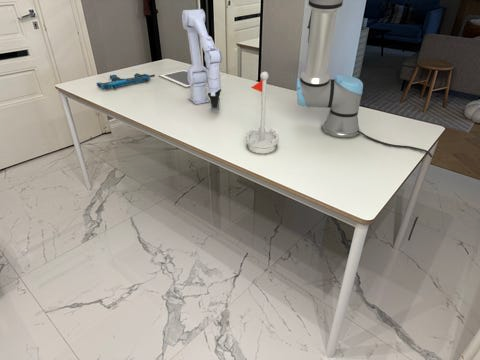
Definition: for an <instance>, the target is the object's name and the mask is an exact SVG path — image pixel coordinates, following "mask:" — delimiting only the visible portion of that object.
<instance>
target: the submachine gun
mask: <svg viewBox="0 0 480 360" xmlns="http://www.w3.org/2000/svg"><path fill="white" fill-rule="evenodd" d="M154 77H156V74H147V73H142V74H141V73H139V72H137V73H135V74H133V77H128V78H121V77H119V76H118V75H117V74H110V75H109V79H111V81H107V82H96V83H95V84H96V87H98V88H99V89H101V90H102V91H103V90H109V89H113V90H116V88H118V87H119V88H120V87H122V86H127V85H133V84H138V83H142V82H148V81H149V80H150V79H151V78H154Z"/></svg>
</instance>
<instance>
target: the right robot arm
mask: <svg viewBox="0 0 480 360" xmlns="http://www.w3.org/2000/svg"><path fill="white" fill-rule="evenodd" d="M343 3H344V0H308V7H309V8H310V9H311V11H310V16H309V20H308V25H307V29H308V35H307V52H306V59H305V60H306V61H305V70H304V71H303V72H301V74H300V77H298V78H297V79H296V99H297V101H296V102H297V104H298V106H300V107H306V108H325V109H329V112H328V115H327V117H326V120H325V121H324V123H323V126H322V130H323V132H324V133H325V134H326V135H329V136H332V137H335V138H339V139H341V138H342V139H349V138H354V137H356V136H357V135H359V134H360V135H362V136H363V137H365V138H367V139H369V140H371V141H373V142H375V143H379V144H382V145H385V146H389V147H395V148H406V149H411V150H412V149H413V150H416V151H421V152H423V153H426V154H427V155H428V156H429V157H430V158H434V156H433V154H432V153H431V152H430V151H428V150H427V149H424V148H419V147H415V146H411V145H402V144H401V145H400V144H392V143H388V142H384V141H381V140H378V139H375V138H373V137H370V136H368V135H367V134H365V133H364V132H363V131H360V125H359V118H358V117H359V116H358V114H359V111H360V110H359V109H360V105H361V100H362V95H363V89H364V83H363V82H362V80H361V79H359V78H358V77H355V76H351V75H348V74H347V75H346V74H337V75H334V76H335V77H334V79H332V78H331V75H330V74H329V73H328V68H329V62H330V56H331V49H332V44H333V36H334V31H335V24H336V18H337V12H338V10H340V9H341V8H342V7H343ZM418 219H419V216H416V217H415V219H414V222H413V224H412V227H411V229H410V232H409V234H408V235H409V236H408V238H407V241H410V240H411V237H412V235H413V232H414V229H415V226H416V225H417V221H418Z"/></svg>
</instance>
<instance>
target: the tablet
mask: <svg viewBox="0 0 480 360" xmlns="http://www.w3.org/2000/svg"><path fill="white" fill-rule="evenodd" d="M187 71H188V69H182V70H181V69H180V70H176V71H172V72H167V73H163V74H158V76H159V77H161V78H163V79H165V80H167V81H170V82H173V83H175V84H177V85H179V86H182V87H184V88H190V86H191V85H190V84H189V82H188V72H187Z"/></svg>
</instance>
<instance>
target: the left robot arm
mask: <svg viewBox="0 0 480 360" xmlns="http://www.w3.org/2000/svg"><path fill="white" fill-rule="evenodd" d="M181 22H182V27H183V30H185V31H186V34H187V39H188V46H189V55H190V60H191V66H190V67H189V68H188V69H187V72H188V82H189V84H190V85H191V86H190V87H189V90H190V91H189V92H190V97H189V98H188V99H189V100H190V101H191V102H192V103H193V104H194V105H199V104H204V103H210V100H211V104H212V107H213V108H217V105H218V98H220V96H221V91H222V86H221V64H220V63H222V61H223V56H222V52H221V50H220V49H219V47H216V44H215V42H214V40H213V37H212V36H210V35H209V33H208V31H207V28H206V24H205V23H206V13H205V10H204V9H203V8H199V9H183V10H182V13H181ZM199 38H200V41H199ZM200 45H201V49H202V51H203V53H204V56H203V57H204V62H205V65H203V64H202V57H201V56H202V55H201V50H200ZM207 90H208V91H209V92H207ZM207 97H208V98H209V100H208V98H207Z"/></svg>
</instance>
